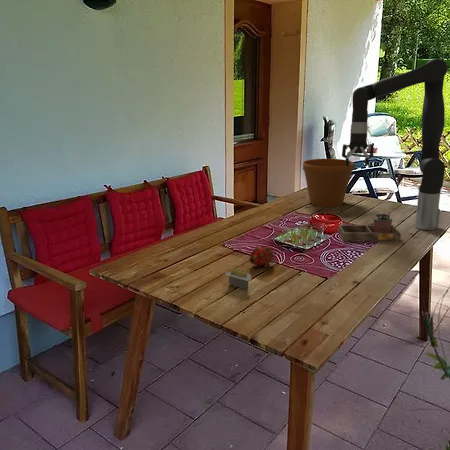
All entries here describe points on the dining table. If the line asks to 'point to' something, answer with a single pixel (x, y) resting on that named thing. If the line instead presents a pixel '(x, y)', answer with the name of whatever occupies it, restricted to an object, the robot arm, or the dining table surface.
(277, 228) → the dining table surface
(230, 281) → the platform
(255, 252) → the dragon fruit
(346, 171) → the flowerpot
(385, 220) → the lighter
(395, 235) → the divided wooden tray
